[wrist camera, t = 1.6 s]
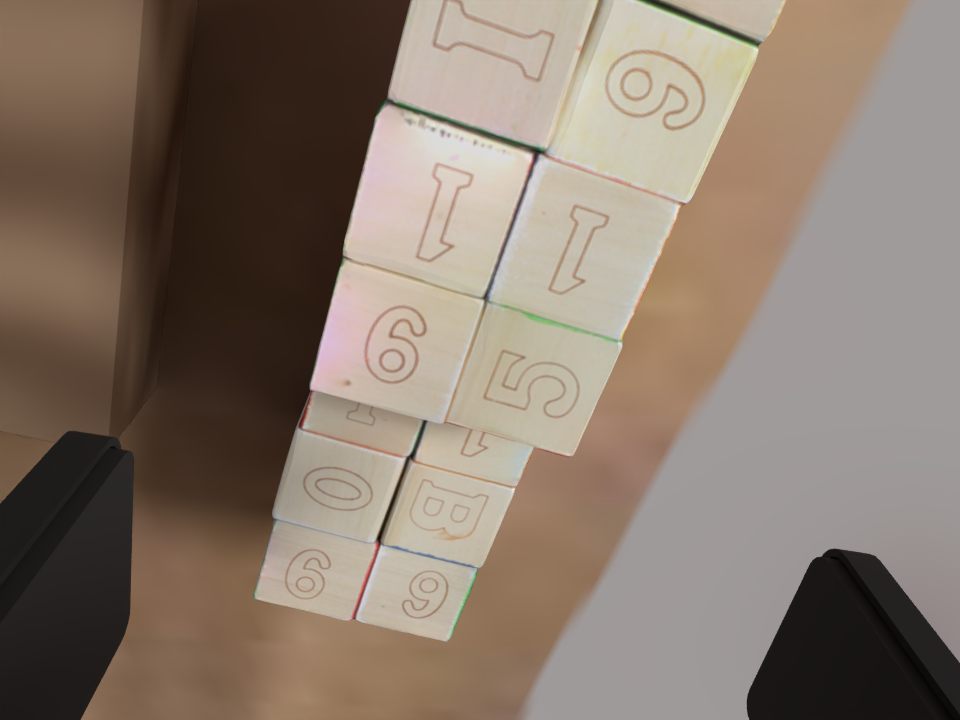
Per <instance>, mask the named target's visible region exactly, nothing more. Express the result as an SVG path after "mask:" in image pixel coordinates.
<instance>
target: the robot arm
mask: <svg viewBox="0 0 960 720" xmlns="http://www.w3.org/2000/svg"><path fill="white" fill-rule="evenodd" d="M133 474H134V457H133V453H132V452H131V451H127V450H121V445H120V442H119V440H118V439H117V438H116V437H111V436H105V435H98V434H92V433H85V432H79V431H68V432H66V433H65V434H64V435H63V436H62V437H61V438H60V439H59V440H58V441H57V442H56V443H55V445H54V446H53V447H52V448H51V449H50V450H49V451H48V452H47V453H46V454H45V455H44V457H43V458H42V459H41V460H40V461H39V462H38V463H37V464H36V465H35V466H34V467H33V469H32V470H31V471H30V472H29V473H28V474H27V475H26V476H25V477H24V478H23V479H22V481H21V482H20V483H19V484H18V485H17V486H16V487H15V488H14V489H13V490H12V491H11V493H10V494H9V495H8V496H7V497H6V498H5V499H4V500H3V501H2V502H1V504H0V720H81V718H82V716H83V714H84V712H85V710H86V708H87V706H88V704H89V702H90V700H91V699H92V697H93V695H94V693H95V691H96V689H97V687H98V685H99V683H100V681H101V679H102V678H103V676H104V674H105V672H106V670H107V668H108V666H109V664H110V662H111V660H112V658H113V657H114V655H115V653H116V651H117V649H118V647H119V645H120V643H121V641H122V639H123V637H124V634H125V631H126V628H127V625H128V620H129V615H130V594H131V554H132V514H133ZM747 712H748V717H749V720H960V663H959V662H958V660H957V659H956V658H955V656H954V655H953V654H952V653H951V651H950V650H949V649H948V647H947V646H946V645H945V643H944V642H943V641H942V640H941V639H940V637H939V636H938V635H937V633H936V632H935V631H934V629H933V628H932V627H931V625H930V624H929V623H928V622H927V620H926V619H925V618H924V617H923V615H922V614H921V613H920V611H919V610H918V609H917V607H916V606H915V605H914V604H913V602H912V601H911V600H910V599H909V597H908V596H907V595H906V593H905V592H904V591H903V589H902V588H901V587H900V586H899V584H898V583H897V582H896V580H895V579H894V578H893V577H892V575H891V574H890V573H889V572H888V570H887V569H886V568H885V566H884V565H883V564H882V562H881V561H880V560H879V559H878V558H877V557H876V556H873V555H871V554H866V553H860V552H854V551H846V550H840V549H830V550H828V551H826V552H825V553H824V554H823V556H822V557H817V558H815V559H814V560H813V561H812V562H811V563H810V565H809V567H808V569H807V571H806V573H805V575H804V577H803V580H802V582H801V584H800V586H799V588H798V590H797V592H796V594H795V596H794V598H793V600H792V602H791V605H790V607H789V609H788V611H787V613H786V615H785V617H784V619H783V621H782V623H781V625H780V627H779V629H778V631H777V634H776V636H775V638H774V640H773V642H772V644H771V646H770V648H769V650H768V652H767V655H766V656H765V659H764V661H763V663H762V665H761V667H760V669H759V671H758V674H757V675H756V677H755V679H754V681H753V684H752V686H751V688H750V690H749V693H748V697H747Z"/></svg>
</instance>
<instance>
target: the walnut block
mask: <svg viewBox="0 0 960 720" xmlns="http://www.w3.org/2000/svg"><path fill="white" fill-rule="evenodd" d="M197 9H198V0H0V431H1V432H6V433H11V434H16V435H21V436H26V437H31V438H36V439H41V440H46V441H50V442H55V443H56V442H57V441H58V440H59V439H60V438H61V437H62V436H63V435H64V434H65V433H66V432H68V431H79V432H85V433H92V434H98V435H105V436H111V437H116V438H117V439H118V438H119V437H120V436H121V434H122V433H123V431H124V430H125V429H126V427H127V426H128V425H129V423H130V422H131V421H132V419H133V418H134V417H135V415H136V414H137V413H138V411H139V410H140V409H141V407H142V406H143V405H144V403H145V402H146V401H147V399H148V398H149V397H150V395H151V394H152V393H153V391H154V390H155V389H156V387H157V379H158V370H159V361H160V351H161V342H162V333H163V324H164V314H165V305H166V296H167V287H168V277H169V268H170V259H171V250H172V240H173V231H174V222H175V212H176V203H177V194H178V185H179V175H180V166H181V157H182V148H183V138H184V129H185V120H186V110H187V101H188V92H189V83H190V73H191V64H192V55H193V46H194V36H195V27H196V18H197Z"/></svg>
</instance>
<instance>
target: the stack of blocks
mask: <svg viewBox="0 0 960 720" xmlns="http://www.w3.org/2000/svg"><path fill="white" fill-rule="evenodd" d="M786 1H787V0H411V1H410V5H409V9H408V13H407V17H406V20H405V24H404V28H403V32H402V36H401V40H400V44H399V48H398V52H397V56H396V61H395V65H394V69H393V73H392V77H391V81H390V85H389V89H388V97H387V98H386V99H385V100H384V102H383V103H382V104H381V105H380V107H379V110H378V112H377V114H376V117H375V120H374V125H373V129H372V132H371V136H370V139H369V143H368V148H367V153H366V157H365V162H364V166H363V169H362V173H361V177H360V180H359V184H358V188H357V192H356V196H355V200H354V204H353V208H352V212H351V216H350V220H349V224H348V228H347V232H346V236H345V240H344V247H343V258H342V261H341V264H340V267H339V271H338V274H337V278H336V282H335V286H334V290H333V294H332V298H331V302H330V306H329V310H328V314H327V318H326V322H325V326H324V329H323V333H322V337H321V341H320V345H319V349H318V353H317V357H316V361H315V365H314V369H313V373H312V376H311V380H310V383H309V388H310V390H311V391H310V394H309V396H308V399H307V401H306V404H305V406H304V409H303V411H302V414H301V416H300V419H299V421H298V424H297V426H296V429H295V432H294V436H293V439H292V443H291V446H290V449H289V453H288V456H287V459H286V463H285V466H284V470H283V473H282V477H281V481H280V484H279V488H278V492H277V495H276V499H275V503H274V506H273V510H272V515H273V517H274V522H273V525H272V532H271V536H270V539H269V543H268V546H267V550H266V553H265V557H264V560H263V564H262V568H261V571H260V574H259V577H258V581H257V585H256V588H255V591H254V595H253V596H254V599H258V600H261V601H266V602H270V603H274V604H279V605H283V606H287V607H292V608H296V609H300V610H305V611H309V612H313V613H317V614H321V615H325V616H329V617H333V618H337V619H342V620H346V621H348V620H351V619H356V620H358V621H361V622H364V623H368V624H372V625H376V626H380V627H385V628H389V629H393V630H397V631H402V632H407V633H412V634H415V635H419V636H424V637H429V638H433V639H437V640H442V641H446V642H447V641H448V640H449V639H450V637H451V636H452V634H453V631H454V628H455V626H456V624H457V621H458V619H459V617H460V614H461V612H462V610H463V607H464V605H465V602H466V600H467V598H468V596H469V594H470V591H471V589H472V586H473V583H474V580H475V578H476V575H477V571H478V568H479V567H482V565H483V564H484V562H485V560H486V557H487V555H488V553H489V550H490V548H491V546H492V543H493V541H494V539H495V536H496V534H497V532H498V529H499V527H500V525H501V522H502V520H503V517H504V515H505V512H506V510H507V508H508V506H509V503H510V501H511V499H512V497H513V494H514V491H515V487H516V485H517V484H518V483H519V481H520V479H521V478H522V476H523V472H524V470H525V468H526V466H527V464H528V461H529V459H530V457H531V454H532V452H533V449H534V447H535V448H538V449H541V450H544V451H547V452H551V453H554V454H557V455H561V456H566V457H571V456H573V455H574V453H575V451H576V449H577V447H578V445H579V442H580V440H581V438H582V435H583V433H584V431H585V429H586V426H587V424H588V422H589V420H590V418H591V415H592V413H593V411H594V408H595V406H596V403H597V401H598V399H599V397H600V395H601V393H602V391H603V389H604V386H605V384H606V382H607V380H608V378H609V375H610V373H611V371H612V369H613V367H614V364H615V362H616V360H617V358H618V356H619V353H620V351H621V349H622V337H623V335H624V333H625V331H626V329H627V327H628V325H629V323H630V321H631V319H632V317H633V315H634V313H635V311H636V309H637V307H638V305H639V302H640V300H641V298H642V296H643V294H644V291H645V289H646V287H647V285H648V282H649V280H650V278H651V275H652V273H653V270H654V268H655V266H656V264H657V262H658V260H659V258H660V256H661V254H662V251H663V249H664V247H665V245H666V243H667V241H668V238H669V236H670V234H671V232H672V229H673V227H674V225H675V222H676V220H677V217H678V214H679V210H680V208H681V207H682V206H683V205H685V204H686V203H687V202H689V201H690V199H691V198H692V196H693V194H694V192H695V190H696V188H697V186H698V184H699V182H700V179H701V177H702V175H703V173H704V171H705V169H706V167H707V165H708V163H709V160H710V158H711V156H712V154H713V152H714V150H715V147H716V145H717V143H718V141H719V139H720V137H721V134H722V132H723V130H724V128H725V126H726V124H727V121H728V119H729V117H730V115H731V113H732V111H733V109H734V106H735V104H736V102H737V100H738V98H739V96H740V94H741V91H742V89H743V87H744V85H745V83H746V81H747V79H748V76H749V74H750V72H751V70H752V68H753V66H754V64H755V61H756V58H757V55H758V45H759V44H761V43H762V42H764V40H765V39H766V38H767V37H768V36H769V35H770V33H771V32H772V31H773V29H774V27H775V25H776V22H777V20H778V18H779V16H780V14H781V11H782V9H783V7H784V5H785V3H786Z"/></svg>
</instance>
